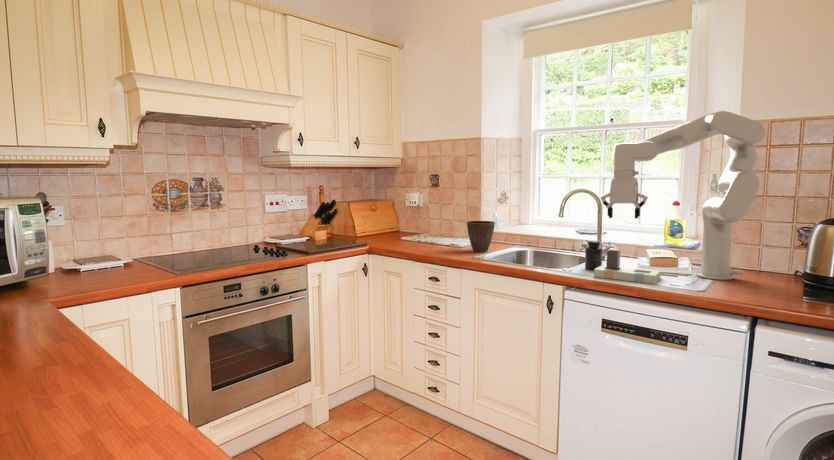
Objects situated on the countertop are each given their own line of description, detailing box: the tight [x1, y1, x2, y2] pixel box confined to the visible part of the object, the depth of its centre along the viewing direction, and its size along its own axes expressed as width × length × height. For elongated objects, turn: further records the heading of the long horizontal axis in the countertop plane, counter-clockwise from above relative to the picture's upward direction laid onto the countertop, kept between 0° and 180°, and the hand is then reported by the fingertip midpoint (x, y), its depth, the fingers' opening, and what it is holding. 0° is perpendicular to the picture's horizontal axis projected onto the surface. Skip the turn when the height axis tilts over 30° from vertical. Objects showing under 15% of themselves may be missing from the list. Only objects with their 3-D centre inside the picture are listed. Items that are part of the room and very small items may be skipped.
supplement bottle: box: [584, 240, 603, 271], centre depth 204 cm, size 7×7×12 cm
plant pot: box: [466, 220, 496, 253], centre depth 253 cm, size 15×15×16 cm
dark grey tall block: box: [605, 247, 621, 270], centre depth 189 cm, size 4×4×11 cm
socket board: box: [593, 264, 662, 285], centre depth 187 cm, size 22×12×3 cm, turn 54°
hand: (623, 218), depth 189 cm, fingers open, 9 cm apart
